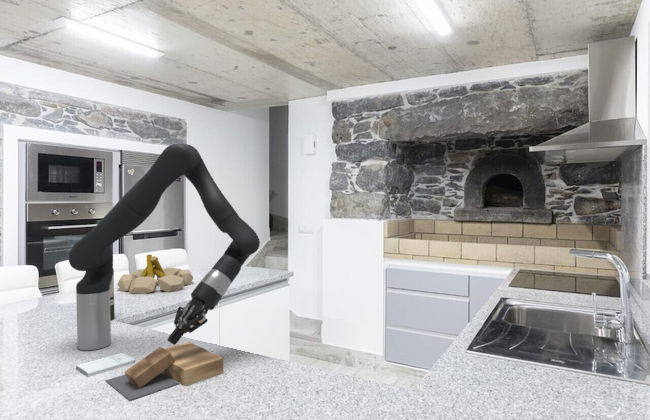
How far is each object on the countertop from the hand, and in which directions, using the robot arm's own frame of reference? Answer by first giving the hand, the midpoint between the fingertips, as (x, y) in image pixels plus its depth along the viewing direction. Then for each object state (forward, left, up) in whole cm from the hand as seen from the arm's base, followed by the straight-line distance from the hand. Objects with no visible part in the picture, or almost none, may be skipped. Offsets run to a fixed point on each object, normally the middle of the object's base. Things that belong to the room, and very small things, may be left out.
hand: (170, 342), depth 112 cm
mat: (0, -8, -8) cm, 11 cm away
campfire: (-108, +46, -9) cm, 118 cm away
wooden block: (0, +4, -8) cm, 10 cm away
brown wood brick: (0, -1, -3) cm, 3 cm away
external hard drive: (-19, -10, -9) cm, 23 cm away
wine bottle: (-66, +5, -9) cm, 67 cm away
